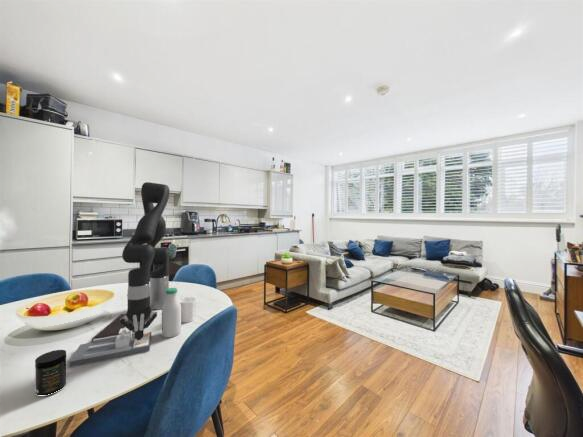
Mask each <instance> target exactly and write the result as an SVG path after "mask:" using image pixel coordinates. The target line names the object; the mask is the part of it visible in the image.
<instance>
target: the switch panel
mask: <svg viewBox="0 0 583 437" xmlns="http://www.w3.org/2000/svg"><path fill="white" fill-rule="evenodd" d="M117 336H118V335H116V336H110V337H105V338H99V339H93V342H92V341H91V342H87V343H81V344H79V346H78V348H77V349H76V351H75V352H74V353H73V355H72V357H71V358H70V360H69V362H68V367H69V368H73V367H78V366H83V365H88V364H92V363H93V364H94V363H97V362H103V361H107V360H112V359H116V358H121V357H126V356H132V355H135V354H136V355H137V354H140V353H141V354H142V353H145V352H149V351H150V350H151V348H150V347H151V342H152V331H147V332H144V335H143V338H141V340H137V339H135V332H133V333H132V338H131V339H130V344H129V347H124V348H119V349H116V344H115V341H116V338H117Z"/></svg>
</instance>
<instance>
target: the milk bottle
mask: <svg viewBox="0 0 583 437" xmlns="http://www.w3.org/2000/svg"><path fill="white" fill-rule="evenodd" d="M179 300H180V299H179V298H178V288H177V287H169V289H166V299H165V302H164V304H163V307H162V309H161V336H162V337H163V338H172V337H173V338H174V337H176V336H179V335H180V333H182V332H181V331H182V322H181V305H180V302H179Z"/></svg>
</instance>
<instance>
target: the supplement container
mask: <svg viewBox="0 0 583 437" xmlns="http://www.w3.org/2000/svg"><path fill="white" fill-rule="evenodd" d="M34 367H35V371H34V372H35V395H36V394H37V395H48V394H51V393H54V392H56V391H58V390H60V389H62V388H63V387H64V386H65V387H66V385H67V350H65V349H55V350H51V351H48V352H45V353H43V354H41V355H38V356H37V357H36V358H35V360H34ZM65 387H64V388H65ZM64 388H63V389H64ZM63 389H62V390H63ZM60 391H61V390H60ZM37 395H36V396H37Z"/></svg>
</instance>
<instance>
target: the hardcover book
mask: <svg viewBox="0 0 583 437" xmlns="http://www.w3.org/2000/svg"><path fill="white" fill-rule="evenodd" d="M125 315H126V313H122V314H120V315H118V316H117V317H116V318H115V319H113V320H112V321H111V322H110V323H109V324H108V325H106V326H105V327H104V328H102V330H101V331H99V332H98V333H97V334H96V335H94V336H93V337H92V338H91V343H92V342H93V339H99V338H105V337H110V336H116V335H119V331H120V329H122V328H125V326H124V325H123V324H121V323H120V319H121V317H124V316H125ZM150 315H151V314H150ZM150 315H149V316H148V317H147V319H146V320H144V324H146V322H147V321H148V320H149V319H150ZM127 318H128V317H127ZM128 321H129V322H130V323H131V324H132V325H133V326H134V323H133V322H132V321H131V320H130V319H129V318H128ZM138 324H139V329H140V322H138ZM133 332H135V331H133V330H132V333H133Z"/></svg>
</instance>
